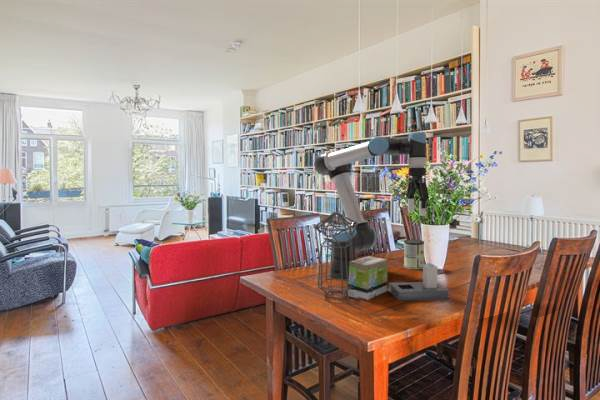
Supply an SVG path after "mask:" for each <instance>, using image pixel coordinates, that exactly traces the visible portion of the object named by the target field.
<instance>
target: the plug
mask: <svg viewBox="0 0 600 400" xmlns="http://www.w3.org/2000/svg"><path fill="white" fill-rule="evenodd" d="M422 282H423V286H424V287H425V288H437V283H438V266H437V265H435V264H433V263H431V262H427V263H424V264H423V269H422Z"/></svg>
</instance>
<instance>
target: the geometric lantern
mask: <svg viewBox="0 0 600 400" xmlns="http://www.w3.org/2000/svg"><path fill="white" fill-rule="evenodd" d="M336 218H337V222H336ZM347 219H348V220H350V221H352V222H354V223H349V222H348V221H347ZM332 220H333V221H332ZM326 223H327V225H326ZM348 224H349V225H350V226H349V225H348ZM351 224H353V225H355V224H356V225H355V226H354V227H353V225H351ZM325 225H326V227H325ZM335 225H338V226H335ZM341 225H343V226H342V227H344V228H345V229H339V228H340V227H341ZM357 225H358V223H357V222H355V221H353V220H351V219H349V218H347V217H346V216H345V215H343V214H341V212H339V211H333V212H332V213H331V214H329V215H328V216H327V217H325V218H324V219H322V220H320V222H318V223H316V224H315V225H313V226H312V228H314V229H315V230H316V231H318V239H319V246H320V247H319V261H318V263H319V264H318V275H317V277H318V278H317V287H318V288H319V289H320V290H322V292H323V293H324V297H325V298H331V299H332V298H333V299H341V300H343V299H345V298H346V297H347V296H348V290H349V289H350V288H351V286H350V287H349V284H348V283H349V279H348V269H347V253H346V247H347V246H349V245H350V261H351V252H352V261H353V248H352V238H353V233H354V231H355V229H356V227H357ZM329 226H332V227H331V229H328V228H329ZM347 226H348V228H346V227H347ZM351 229H353V232H352V233H351ZM338 230H339V231H340V232H338ZM347 230H349V231H350V237H351V235H352V237H351V240H350V241H351V242H350V241H349V239H350V237H349V236H348V237H349V239H348V241H337V240H336V238H335V236H336V235H338V234H339V233H341V232H343V231H347ZM333 231H336V233H337V232H338V233H337V234H336V233H335V234H334V235H333ZM327 232H331V235H328V234H327ZM346 233H347V232H346ZM321 234H323V235H324V236H325V237H326V238H325V240H324V241H323V242H322V241H321ZM347 235H348V234H347ZM332 237H333V238H334V239H335V240H336V242H337V243H338V242H347V244H348V242H350V244H349V245H347V244H346V246H345V247H341V246H340V244H339V243H338V245H339V246H340V247H334V248H341V279H339V278H334V277H332V260H333V241H334V240H333V238H332ZM330 238H331V240H330ZM321 242H322V243H321ZM326 242H327V243H326ZM325 243H326V245H325ZM329 243H331V244H330V245H329ZM323 247H324V248H326V260H325V261H326V262H325V263H326V264H325V278H324V280H323ZM329 248H331V249H330V253H331V254H330V257H331V258H330V267H331V276H330V277H329V278H327V277H328V260H329ZM342 248H345V259H346V274H347V279H343V272H342ZM328 280H329V281H330V284H329V283H328V282H329V281H328ZM332 280H334V281H341V286H337V285H332ZM324 282H326V284H327V287H326V286H325V287H323V284H324ZM343 282H346V286H344V283H343ZM339 288H340V289H339ZM328 294H332V295H333V294H334V295H341V297H339V296H328Z"/></svg>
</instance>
